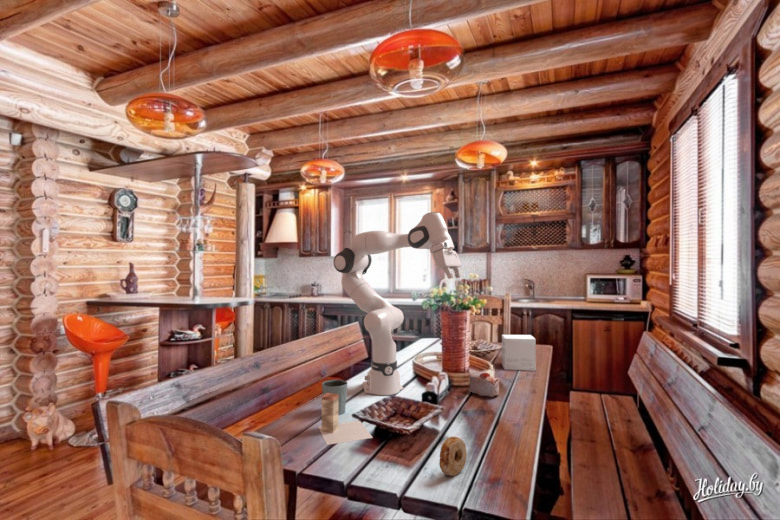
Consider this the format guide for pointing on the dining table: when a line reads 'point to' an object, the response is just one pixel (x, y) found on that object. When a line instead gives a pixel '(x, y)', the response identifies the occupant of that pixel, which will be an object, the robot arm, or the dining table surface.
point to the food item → (484, 385)
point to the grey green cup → (337, 392)
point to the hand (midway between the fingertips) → (454, 278)
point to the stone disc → (452, 456)
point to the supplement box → (519, 352)
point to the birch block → (330, 412)
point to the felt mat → (346, 433)
